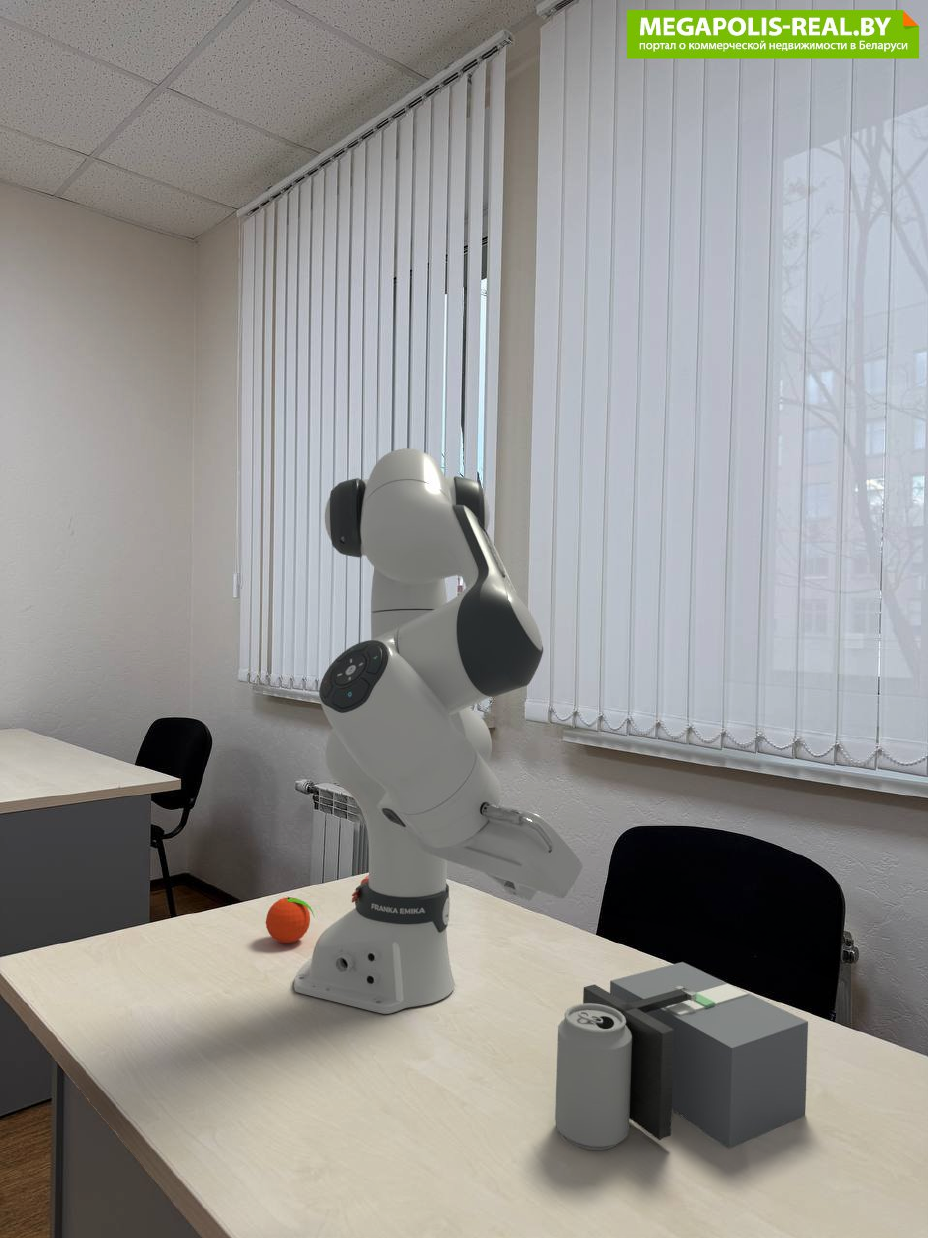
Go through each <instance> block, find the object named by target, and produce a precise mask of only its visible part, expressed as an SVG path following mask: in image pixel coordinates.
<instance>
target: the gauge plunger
mask: <svg viewBox="0 0 928 1238" xmlns="http://www.w3.org/2000/svg"><path fill="white" fill-rule="evenodd" d="M582 994H583V996H582V1004H586V1003H591V1004H600V1005H605V1006H608V1007H611V1008H614V1009H616V1010H617V1011H619V1012H621V1013H622V1015H623V1016H624V1017H625V1019H626V1024H625V1025H626V1026H627V1027H628V1029H629V1030H630V1031H631V1035H632V1055H631V1087H630V1119H629V1120H631V1121H633V1122H634V1123H635V1124H637V1125H638V1126H640V1127H641V1128H642V1129H643V1130H645V1131H647V1132H648V1133H649V1134H650V1135H652V1136H653V1137H654V1138H656V1139H657V1140H658V1141H660V1140H663V1139H666V1138H669V1137H671V1136H672V1117H673V1116H672V1112H673V1110H672V1084H673V1052H674V1029H672V1028H670V1027H668V1026H667V1025H665V1024H663V1023H661V1022H660V1021H658V1020H656V1019H654V1018H653V1017H651V1016H649V1015H647V1014H646V1013H647V1012H650V1011H654V1010H657V1009H660V1008H664V1007H667V1006H671V1005H674V1004H677V1003H681V1002H684V1001H688V1000H690V1001H693V1000H696V997H697V994H696V993H694V992H692V991H690V990H688V989H686V988H684V987H682V986H677V987H675V990H674V991H671V992H667V993H664V994H660V995H657V996H653V997H650V998H646V999H642V1000H639V1001H635V1002H632V1003H626V1002H625V1001H623V1000H621V999H619V998H618V997H616V996H614V995H612V994H611V993H610V991H607V990H605V989H603V988H602V987H600V986H598V985H597V984H591V985H586V986H584V987H583V991H582Z"/></svg>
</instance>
